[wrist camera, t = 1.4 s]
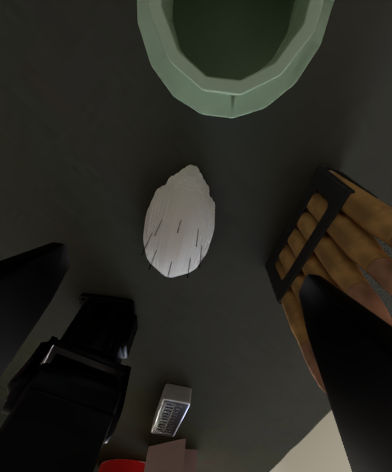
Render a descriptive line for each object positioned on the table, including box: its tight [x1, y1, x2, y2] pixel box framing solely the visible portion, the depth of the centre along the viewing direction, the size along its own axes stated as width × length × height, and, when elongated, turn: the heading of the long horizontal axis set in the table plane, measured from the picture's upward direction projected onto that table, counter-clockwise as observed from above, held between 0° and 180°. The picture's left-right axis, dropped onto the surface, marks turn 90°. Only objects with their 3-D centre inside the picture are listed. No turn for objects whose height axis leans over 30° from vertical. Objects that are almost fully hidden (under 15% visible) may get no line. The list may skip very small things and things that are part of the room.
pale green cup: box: [137, 0, 334, 118], centre depth 11 cm, size 8×8×8 cm
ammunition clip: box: [265, 166, 392, 394], centre depth 15 cm, size 11×2×12 cm, turn 166°
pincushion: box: [142, 165, 215, 278], centre depth 19 cm, size 12×6×6 cm, turn 167°
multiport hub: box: [151, 383, 191, 437], centre depth 40 cm, size 4×14×2 cm, turn 166°
